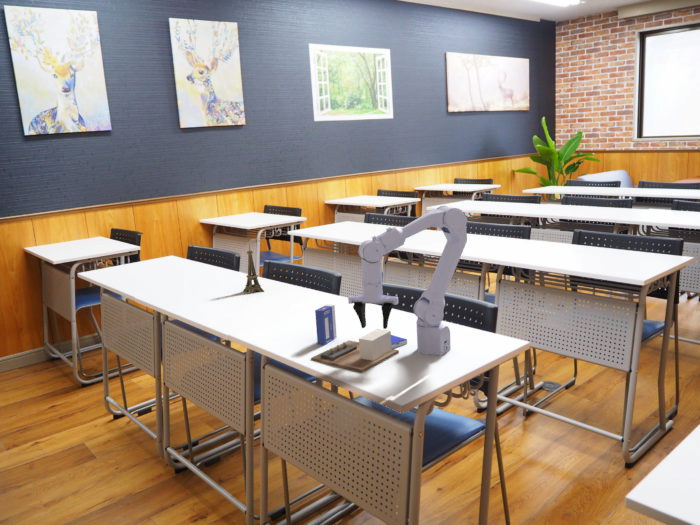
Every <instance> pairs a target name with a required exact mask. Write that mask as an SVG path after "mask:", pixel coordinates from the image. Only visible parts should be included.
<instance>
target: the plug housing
mask: <svg viewBox="0 0 700 525" xmlns="http://www.w3.org/2000/svg"><path fill="white" fill-rule="evenodd" d="M391 333H392V332H391V330H388V329H381V328H376V329H375V330H373V331H371V332H368V333H366V334H365V335H363V336H361V337H359V338H358V342H359V348H360V358H361V359H367V360H372V361H374V360H376V359H377V358H379V357H381V356H382V355H384V354H386V353H387V352H389V351H391V335H392V334H391Z"/></svg>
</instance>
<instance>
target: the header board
mask: <svg viewBox="0 0 700 525" xmlns="http://www.w3.org/2000/svg"><path fill="white" fill-rule="evenodd" d="M399 352H400V350H399V349H395V348H393V349H391V351H389V352H387V353H386V354H384V355H382V356H381V357H379V358H377V359H376V360H374V361H372V360H367V359H361V358H360V348H359V341H353V340H347V341H344V342H342V343H340V344H337V345H336V346H334V347H330V348H329V349H327V350H325V351H323V352H321V353H318V354H316V355H314V356H312V357H311V358H310V360H312V361H315V362H318V363H322V364H326V365H329V366H334V367H338V368H342V369H346V370H350V371H354V372H359V373H364V372H366V371H369V370H370V369H371V368H373V367H375V366H377V365H379V364H381V363H382V362H384V361H386V360H388V359H390V358H392V357H393V356H396V355H397V354H399Z"/></svg>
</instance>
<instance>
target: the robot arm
mask: <svg viewBox="0 0 700 525" xmlns="http://www.w3.org/2000/svg"><path fill="white" fill-rule="evenodd" d="M467 223H468V218H467V217H466V215H465V213H464V211H463V210H462V209H460V208H457V207H450V206H447V205H440V206H439V207H436V208H433V209H431V210H429V211H428V212H426V213H424V214H423V215H421V216H420V217H418V218H416V219H414V220H413V221H411V222H409V223H408V224H406V225H404V226H402V227H401V228H398V227H396V226H395V227H390V226H389V227H387V228H386V229H385V230H386V231H384V232H382V233H380V234H379V235H377V236H376V235H373V236H372V237H371V239H366V240H364V241H363V242H360V243H361V244H360V245H359V247H358V250H357V253H358V256H359V257H360V258H361V261H360V262H361V263H360V264H361V282H362V285H361V286H362V295H361V294H360V295H358V294H357V295H349V296H348V297H347V301H348V305H349V304H350V305H352V304H353V305H352V308H353V310H354V312H355V313H356V315H357V317H358V320H359V323H360V326H361V329H364V328H366V326H367V319H366V304H371V305H372V304H374V305H375V304H379V305H380V304H381V313H382V328H383V329H382V330H387V328H388V324H389V319H390V315H391V312H392V309H393V307H394V305H395V306H396V305H398V304H399V297H398V296H397V295H396V296H393V295H387V294H386V295H385V294H384V292H383V275H382V274H383V273H382V261H381V260H382V258H383V257H384V256H385V255H386V254H389V253H391V252H392V251H395V250H396V249H398V248H400V247H402V246H404V245H405V242H406V240H407V239H408V238H411V237H412V236H414V235H416V234H419V233H421V232H423V231H425V230H427V229H429V228H438V229H440V230H442V233H443V235H444V237H445V240H446V243H445V245H444V248H443V250H442V253H441V255H440V257H439V259H438V263H437V265H436V267H435V270H434V272H433V275H432V278H431V280H430V282H429V284H428V287H427V289H426V290H424V291H423V292H422V293H421V295H420V297H419V299H418V300H416V302H415V303H414V305H413V313H414V315H415V316H416V317H417V319H416V339H417V340H416V341H417V342H416V343H417V346H416V347H417V352H419V353H421V354H427V355H428V354H429V355H436V356H440V357H441V356H442V355H444V354H446V353H448V352H449V351H451V331H450V328H449V326H447V325H444V324H442V321H443V320H444V316H445V315H444V312H445V311H444V309H445V307H446V299H445V295H446V293H447V291H448V288H449V286H450V283H451V280H452V278H453V276H454V273H455V271H456V269H457V267H458V264H459V261H460V259H461V256H462V254H463V253H464V252H463V251H464V249H465V246H466V244H467V240H468V236H467V235H468V234H467Z"/></svg>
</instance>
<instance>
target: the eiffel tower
mask: <svg viewBox="0 0 700 525" xmlns="http://www.w3.org/2000/svg"><path fill="white" fill-rule="evenodd" d="M250 247H251V246H250V244H248V249H249V250H247V251H246V254H248V255H247V256H248V257H247V258H248V260H247V261H248V262H247V275H246V278H247V280H246V284H245V285H244V286H245V287H244V288H243V291H242V292H248V295H252V293H253V292H255V291H257V292H259V293H265V290H264V289H263V288H262V287H261V286H262V285H260V282H259V279H258V277H259V276H258V274H257V273H256V269H255V263H254V259H253V254H254V252H253V250H251V248H250ZM252 282H253V283H252Z"/></svg>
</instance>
